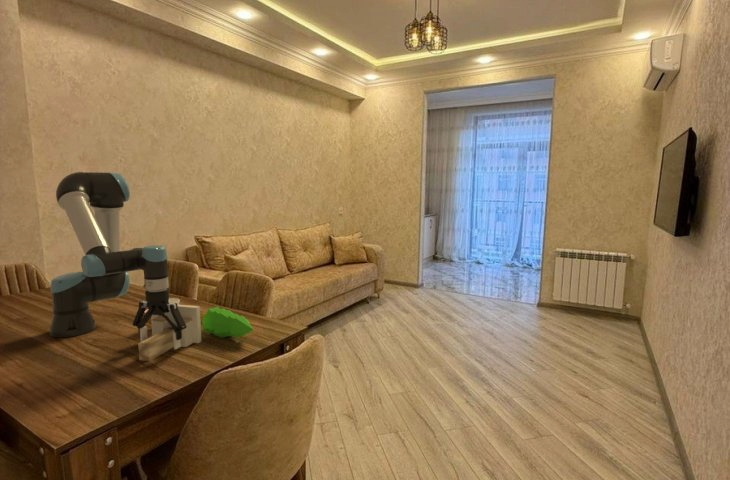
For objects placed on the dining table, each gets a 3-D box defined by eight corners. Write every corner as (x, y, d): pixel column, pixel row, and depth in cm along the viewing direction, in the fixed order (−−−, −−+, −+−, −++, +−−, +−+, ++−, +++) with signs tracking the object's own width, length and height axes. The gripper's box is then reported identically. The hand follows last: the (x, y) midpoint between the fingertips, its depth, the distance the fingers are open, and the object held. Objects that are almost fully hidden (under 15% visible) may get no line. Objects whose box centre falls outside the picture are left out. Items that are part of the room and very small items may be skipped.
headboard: (144, 342, 151) (142, 307, 149) (156, 336, 157) (153, 302, 155) (191, 347, 147) (189, 311, 145) (201, 341, 153) (199, 306, 151)
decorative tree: (208, 298, 166) (258, 308, 150) (219, 320, 171) (268, 332, 155) (186, 315, 158) (236, 328, 142) (198, 337, 163) (248, 352, 147)
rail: (139, 360, 136) (138, 343, 135) (170, 342, 152) (169, 327, 151) (149, 361, 135) (148, 344, 135) (180, 343, 151) (179, 327, 150)
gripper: (118, 289, 139) (123, 347, 142) (181, 294, 134) (184, 353, 137) (134, 284, 147) (138, 339, 150) (195, 288, 142) (197, 345, 145)
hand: (160, 346), depth 144 cm, fingers open, 13 cm apart
